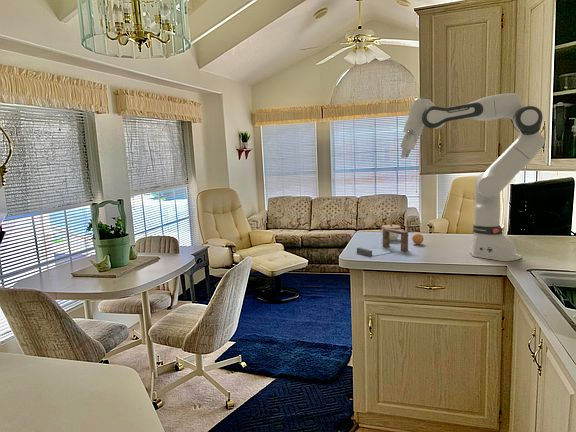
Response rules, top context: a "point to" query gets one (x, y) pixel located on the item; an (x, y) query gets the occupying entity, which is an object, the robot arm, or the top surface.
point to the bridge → (403, 233)
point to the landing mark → (378, 252)
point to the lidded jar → (392, 235)
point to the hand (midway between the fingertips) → (404, 157)
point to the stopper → (364, 251)
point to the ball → (417, 238)
